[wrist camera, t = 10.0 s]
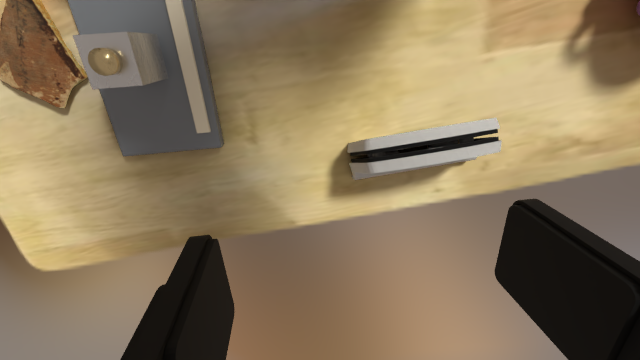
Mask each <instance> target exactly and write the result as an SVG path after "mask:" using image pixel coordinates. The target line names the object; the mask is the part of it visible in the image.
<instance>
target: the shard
mask: <svg viewBox="0 0 640 360" xmlns="http://www.w3.org/2000/svg"><path fill="white" fill-rule="evenodd" d="M87 78H88V76H87V73H86V72H85V71H84V70H83V69H82V67H81V66H80V65H79V64H78V62H77V61H76V60H75V58H74V57H73V55H72V52H71V51H70V50H69V49H68V48H67V46H66V45H65V43H64V41H63V40H62V38H61V36H60V33H59V31H58V29H57V28H56V26H55V24H54V23H53V21H52V20H51V18H50V16H49V14H48V12H47V11H46V10H45V7H44V5H43V4H42V2H41V0H6V4H5V8H4V12H3V14H2V18H1V24H0V80H2V81H3V82H6V83H7V84H9V85H10V86H12V87H14V88H16V89H19V90H21V91H23V92H25V93H28V94H31V95H32V96H35V97H37V98H39V99H42V100H44V101H46V102H48V103H50V104H52V105H54V106H56V107H58V108H66V105H67V100H68V98H69V95H70V93H71V90H72V88H73V87H74V86H75V85H77V84H79V83H80V82H82V81H83V80H85V79H87Z"/></svg>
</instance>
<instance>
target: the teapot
mask: <svg viewBox="0 0 640 360" xmlns="http://www.w3.org/2000/svg"><path fill="white" fill-rule="evenodd" d="M637 13H638V15H640V0H639V2H638V4H637Z"/></svg>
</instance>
